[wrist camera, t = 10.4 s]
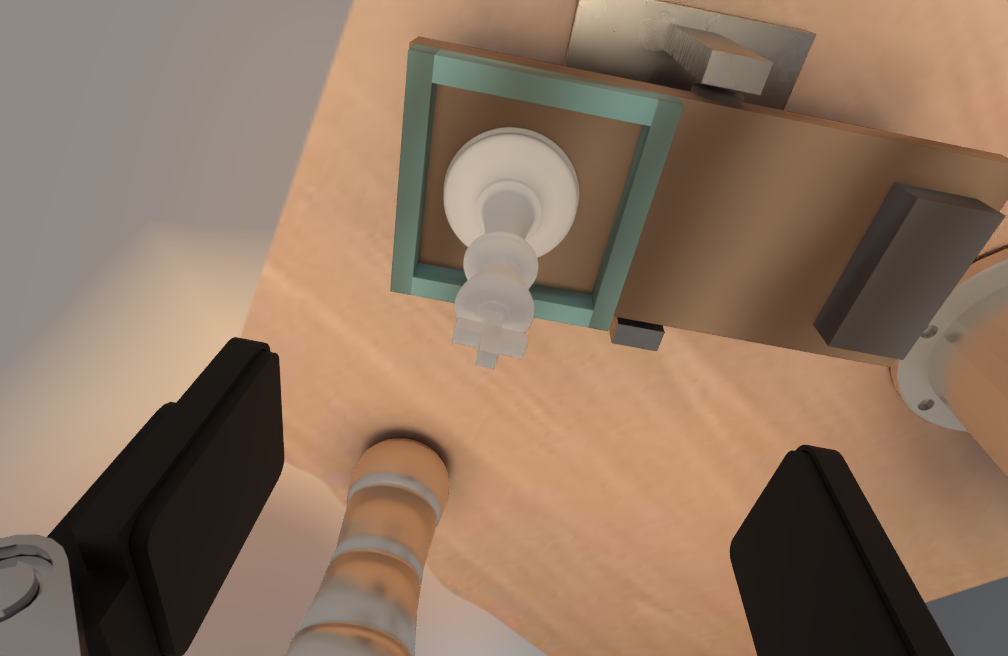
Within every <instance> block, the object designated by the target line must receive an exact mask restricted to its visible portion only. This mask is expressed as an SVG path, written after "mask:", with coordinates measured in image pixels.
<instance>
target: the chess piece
mask: <svg viewBox="0 0 1008 656" xmlns="http://www.w3.org/2000/svg"><path fill="white" fill-rule="evenodd" d="M443 200H444V209H445V213H446V216H447V219H448V222H449V224H450V226H451V228H452V230H453V231H454V233H455V234H456V236H457V237H458V238H459V239H460V240H461V241H462V243H464V244H465V245H466V246H467V247H468V249H467V250H466V253H465V256H464V261H463V267H464V272H465V275H466V278H467V280H468V281H467V282H466V283H465V284H464V285H463V286H462V287H461V289H460V290H459V292H458V294H457V296H456V299H455V305H454V310H455V316H456V319H457V322H456V326H455V330H454V334H453V338H452V342H453V343H457V344H461V345H465V346H469V347H474V348H478V351H477V357H476V363H475V365H477V366H482V367H486V368H490V369H494V368H495V365H496V362H497V358H498V355H499V354H502V355H506V356H511V357H515V358H519V359H522V358H523V355H524V352H525V350H526V347H527V338H528V334H525V332H526V331H527V330H528V328H529V327H530V325H531V323H532V321H533V318H534V310H535V309H534V302H533V298H532V296H531V294H530V292H529V290H528V289H529V288H530V287H531V285H532V284H533V283H534V281H535V279H536V277H537V273H538V259H537V258H538V257H540V256H542V255H544V254H546V253H548V252H549V251H551V250H552V249H554V248H555V247H556V246H557V245H558V244H559V243H560V242H561V241H562V240H563V239H564V238H565V236H566V235H567V233H568V232H569V230H570V228H571V226H572V224H573V222H574V219H575V216H576V212H577V208H578V203H579V184H578V179H577V175H576V172H575V169H574V167H573V165H572V163H571V161H570V160H569V158H568V157H567V155H566V154H565V153H564V151H563V150H562V149H561V148H560V147H559V146H558V145H557V144H555V143H554V142H553V141H552V140H550V139H549V138H547V137H545V136H544V135H542V134H540V133H537V132H535V131H532V130H528V129H524V128H517V127H503V128H497V129H492V130H489V131H486V132H483V133H481V134H479V135H477V136H475V137H474V138H472V139H471V140H469V141H468V142H467V143H466V144H465V145H463V146H462V147H461V149H460V150H459V151H458V152H457V153H456V155H455V156H454V158H453V159H452V161H451V163H450V165H449V167H448V170H447V173H446V176H445V181H444V194H443Z"/></svg>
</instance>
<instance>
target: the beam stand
mask: <svg viewBox="0 0 1008 656" xmlns="http://www.w3.org/2000/svg"><path fill="white" fill-rule="evenodd" d="M815 36H816V34H814V33H811V32H808V31H804V30H799V29H794V28H790V27H785V26H780V25H775V24H771V23H766V22H761V21H756V20H751V19H747V18H742V17H737V16H732V15H728V14H723V13H718V12H713V11H708V10H704V9H699V8H694V7H689V6H685V5H680V4H675V3H670V2H665V1H661V0H578V2H577V7H576V11H575V16H574V20H573V25H572V30H571V34H570V39H569V44H568V48H567V53H566V58H565V62H564V66H566V67H571V68H576V69H581V70H586V71H591V72H596V73H601V74H606V75H611V76H616V77H621V78H626V79H630V80H635V81H640V82H645V83H650V84H655V85H660V86H665V87H670V88H675V89H680V90H685V91H691V88H692V85H693V84H706V85H711V86H716V87H720V88H724V89H727V90H731V91H734V92H736V93H739V94H741V95H743V96H744V100H743V102H744V103H749V104H754V105H759V106H763V107H768V108H773V109H778V110H784V108H785V105H786V103H787V101H788V98H789V96H790V94H791V91H792V89H793V87H794V84H795V82H796V80H797V77H798V75H799V73H800V71H801V68H802V66H803V64H804V61H805V59H806V57H807V54H808V52H809V50H810V47H811V45H812V43H813V40H814V38H815ZM609 330H610V336H611V342H612V343H614V344H619V345H625V346H631V347H636V348H642V349H647V350H653V351H657V350H658V348H659V345H660V343H661V340H662V338H663V335H664V333H665V332H664V329H663V325H658V324H653V323H647V322H642V321H636V320H631V319H626V318H620V317H615V316H613V318H612V321H611V324H610V327H609Z"/></svg>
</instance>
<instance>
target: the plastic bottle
mask: <svg viewBox="0 0 1008 656" xmlns="http://www.w3.org/2000/svg"><path fill="white" fill-rule="evenodd" d="M448 495H449V481H448V472H447V469H446V467H445V465H444V463H443V462H442V460H441V459H440V457H439V456H438V454H437V453H436V452H434V451H433V450H432V449H431V448H429V447H428V446H427V445H424V444H422V443H420V442H418V441H415V440H411V439H405V438H393V439H388V440H384V441H382V442H380V443H378V444H376V445H374V446H372V447H370V448H369V449H368V450H366V451H365V452H364V454H363V455H362V457H361V458H360V460H359V461H358V463H357V465H356V466H355V468H354V469H353V472H352V475H351V479H350V484H349V489H348V496H347V508H346V512H345V515H344V519H343V523H342V527H341V531H340V535H339V539H338V542H337V546H336V549H335V551H334V554H333V556H332V558H331V561H330V565H329V566H328V568H327V570H326V573H325V575H324V577H323V580H322V582H321V585H320V587H319V589H318V591H317V593H316V595H315V597H314V599H313V601H312V602H311V604H310V606H309V608H308V610H307V612H306V614H305V616H304V618H303V619H302V621H301V623H300V625H299V627H298V629H297V631H296V632H295V636H294V637H293V638H292V640H291V642H290V645H289V647H288V649H287V651H286V654H285V655H284V656H414V654H415V638H416V620H417V608H418V601H419V595H420V588H421V586H420V585H421V582H422V575H423V569H424V565H425V562H426V559H427V555H428V552H429V549H430V545H431V542H432V539H433V535H434V532H435V529H436V527H437V525H438V523H439V521H440V519H441V516H442V514H443V511H444V509H445V506H446V503H447V500H448Z"/></svg>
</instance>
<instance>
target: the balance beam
mask: <svg viewBox="0 0 1008 656" xmlns="http://www.w3.org/2000/svg"><path fill="white" fill-rule="evenodd" d="M743 100H744V96H743V95H741V94H739V93H736V92H734V91H731V90H727V89H724V88H720V87H716V86H711V85H706V84H693V85H692V88H691V91H685V90H680V89H675V88H670V87H665V86H660V85H655V84H650V83H645V82H640V81H635V80H630V79H626V78H621V77H616V76H611V75H606V74H601V73H596V72H591V71H586V70H581V69H576V68H571V67H566V66H562V65H557V64H552V63H547V62H542V61H537V60H532V59H527V58H522V57H517V56H512V55H507V54H502V53H497V52H493V51H488V50H483V49H478V48H473V47H468V46H463V45H458V44H453V43H448V42H443V41H438V40H433V39H429V38H424V37H419V36H418V37H417V38H416V39H414V40H413V41H411V42H410V46H409V50H408V61H407V75H406V88H405V101H404V115H403V128H402V141H401V155H400V168H399V181H398V195H397V208H396V221H395V235H394V248H393V262H392V275H391V288H390V291H392V292H397V293H403V294H408V295H413V296H419V297H424V298H430V299H435V300H441V301H446V302H452V303H455V299H456V296H457V294H458V292H459V290H460V289H461V287H462V286H463V285H464V284H465V283H466V282H467V281H468V280H467V278H466V275H465V272H464V267H463V261H464V256H465V253H466V250H467V249H468V247H467V246H466V245H465V244H464V243H462V241H461V240H460V239H459V238H458V237H457V236H456V234H455V233H454V231H453V230H452V228H451V226H450V224H449V222H448V219H447V216H446V213H445V209H444V200H443V194H444V181H445V176H446V173H447V170H448V167H449V165H450V163H451V161H452V159H453V158H454V156H455V155H456V153H457V152H458V151H459V150H460V149H461V147H462V146H463V145H465V144H466V143H467V142H468V141H469V140H471V139H472V138H474V137H475V136H477V135H479V134H481V133H483V132H486V131H489V130H492V129H497V128H503V127H517V128H524V129H528V130H532V131H535V132H537V133H540V134H542V135H544V136H545V137H547V138H549V139H550V140H552V141H553V142H554V143H555V144H557V145H558V146H559V147H560V148H561V149H562V150H563V151H564V153H565V154H566V155H567V157H568V158H569V160H570V161H571V163H572V165H573V167H574V169H575V172H576V175H577V179H578V184H579V203H578V208H577V212H576V216H575V219H574V222H573V224H572V226H571V228H570V230H569V232H568V233H567V235H566V236H565V238H564V239H563V240H562V241H561V242H560V243H559V244H558V245H557V246H556V247H555V248H554V249H552V250H551V251H549V252H548V253H546V254H544V255H542V256H540V257H538V258H537V259H538V273H537V277H536V279H535V281H534V283H533V284H532V285H531V287H530V288H529V289H528V290H529V292H530V294H531V296H532V298H533V302H534V309H535V310H534V318H539V319H544V320H550V321H555V322H561V323H566V324H572V325H577V326H583V327H588V328H594V329H599V330H604V331H608V330H609V327H610V324H611V321H612V318H613V316H615V317H620V318H626V319H631V320H636V321H642V322H647V323H653V324H658V325H663V326H669V327H674V328H680V329H685V330H691V331H696V332H701V333H707V334H712V335H718V336H723V337H729V338H734V339H739V340H745V341H750V342H756V343H761V344H766V345H772V346H777V347H783V348H788V349H794V350H799V351H804V352H810V353H815V354H821V355H826V356H832V357H837V358H842V359H848V360H853V361H859V362H864V363H869V364H875V365H880V366H886V367H891V366H892V364H893V363H894V361H895V360H896V359H899V360H904V358H905V357H906V356H907V354H908V353H909V351H910V350H911V349H912V347H913V346H914V344H915V343H916V341H917V340H918V339H919V337H920V336H921V334H922V333H923V332H924V330H925V329H926V327H927V326H928V325H929V323H930V322H931V320H932V319H933V318H934V316H935V315H936V313H937V312H938V310H939V309H940V308H941V306H942V305H943V303H944V302H945V301H946V299H947V298H948V296H949V295H950V294H951V292H952V291H953V289H954V288H955V287H956V285H957V284H958V282H959V281H960V279H961V278H962V277H963V275H964V274H965V272H966V271H967V270H968V268H969V267H970V265H971V264H972V263H973V261H974V260H975V258H976V257H977V256H978V254H979V253H980V251H981V250H982V248H983V247H984V246H985V244H986V243H987V241H988V240H989V239H990V237H991V236H992V234H993V233H994V232H995V230H996V229H997V227H998V226H999V224H1000V223H1001V222H1002V220H1003V219H1004V217H1005V215H1003V214H1002V213H1000V212H999V211H1000V210H1001V209H1002V207H1003V206H1004V204H1005V203H1006V201H1007V200H1008V158H1007V157H1005V156H1002V155H1000V154H995V153H990V152H985V151H980V150H975V149H970V148H965V147H961V146H956V145H951V144H946V143H941V142H936V141H931V140H926V139H921V138H916V137H911V136H906V135H901V134H896V133H892V132H887V131H882V130H877V129H872V128H867V127H862V126H857V125H852V124H847V123H842V122H837V121H832V120H828V119H823V118H818V117H813V116H808V115H803V114H798V113H793V112H788V111H783V110H778V109H773V108H768V107H763V106H759V105H754V104H749V103H744V102H743Z"/></svg>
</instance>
